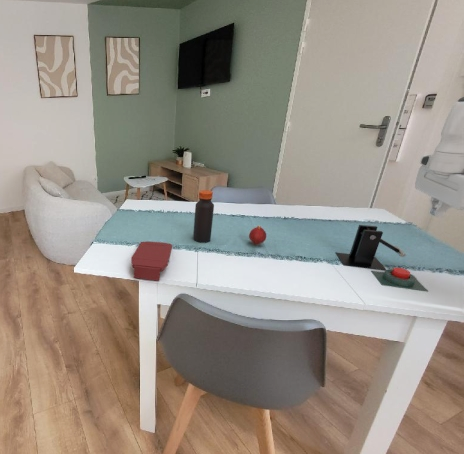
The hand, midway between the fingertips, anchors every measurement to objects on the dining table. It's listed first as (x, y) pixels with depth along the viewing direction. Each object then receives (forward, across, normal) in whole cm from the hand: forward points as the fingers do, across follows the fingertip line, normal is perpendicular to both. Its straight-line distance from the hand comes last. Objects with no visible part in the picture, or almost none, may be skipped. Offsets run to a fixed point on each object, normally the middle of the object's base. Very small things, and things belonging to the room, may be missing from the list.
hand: (436, 215), depth 77 cm
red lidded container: (+20, -10, +75) cm, 78 cm away
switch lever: (+13, +8, +6) cm, 17 cm away
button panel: (+21, -2, +4) cm, 21 cm away
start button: (+18, -2, +4) cm, 19 cm away
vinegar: (+20, +13, +60) cm, 64 cm away
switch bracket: (+21, +8, +10) cm, 24 cm away
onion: (+20, +14, +40) cm, 47 cm away
